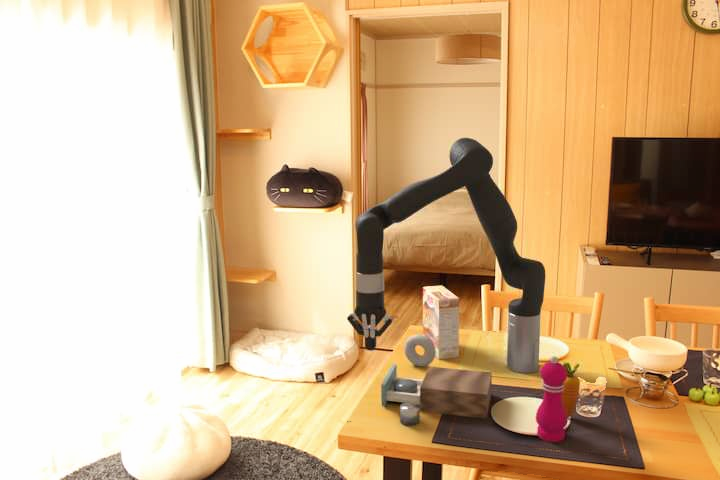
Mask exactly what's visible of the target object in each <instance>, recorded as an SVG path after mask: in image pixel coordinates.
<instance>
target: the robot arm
mask: <svg viewBox="0 0 720 480" xmlns="http://www.w3.org/2000/svg"><path fill="white" fill-rule="evenodd" d="M449 162H450V164H451V166H450V167H448V168H447V169H446V170H444V171H443V172H441V173H439V174H437V175H434V176H432V177H429V178H426V179H423V180H419V181H416V182H414V183H411V184H409V185H407V186H405V187H404V188H402V189H400V190H398V192H395V193H394V194H393V195H392V196H390V197H388V198H387V199H386V200H385V201H383V202H381V203H379V204H376V205H374V206H372V207H370V208H369V209H367V210H365V211H364V212H362V213H361V214H359V216H358V217H357V218H356V220H355V224H354V226H355V230H356V231H355V232H356V242H357V243H356V246H357V252H356V257H355V258H356V260H355V261H356V264H355V265H356V274H355V301H356V302H355V309H354V312H353V313H350V314H349V315H348V316H347V317H346V319H347V321H348V323H349V324H350V325H351V327H353V329H354V330H355V331H356V333H357V335H361V336H363V337H364V347H365V349H366V350H367V351H371V352H373V351H374V350H375V348H376V347H377V337H381V336H382V335H383V333H385V331H386V330H387V329H388V328H389V326H391V324H392V323H393V322H394V319H395V318H394V316H390V315H388V314H387V310H386V308H385V277H384V276H385V275H384V258H383V257H384V256H383V249H384V236H385V235H384V234H385V233H384V230H386V229H387V228H389V227H390V226H393V225H394V224H399V223H401V222H403V221H405V220H407V219H408V218H410V217H411V216H413V215H414V214H416V213H417V212H419V211H421V210H422V209H423V208H425V207H427V206H428V205H431V204H432V203H434V202H436V201H438V200H439V199H441V198H443V197H445V196H447V195H450V194H451V193H453V192H456V191H458V190H460V189H462V188H466V192H467V193H468V196H469V199H470V201H471V204H472V207H473V210H474V212H475V214H476V216H477V219H478V221H479V223H480V225H481V227H482V229H483V232H484V233H485V235H486V237H487V239H488V241H489V243H490V245H491V248H492V250H493V253H494V254H495V256H496V261H497V263H498V267H499V269H500V273H501V275H502V277H503V280H504V282H505V283H506V284H507V286H509V287H511V288H514V289H517V290H521V291H522V295H521V298H520V297H519V298H514V299H512V300H511V301H509V303H508V307H507V311H508V312H507V340H506V341H507V343H506V344H507V346H506V347H507V348H506V367H507V369H509V370H511V371H513V372H517V373H522V374H523V373H525V374H528V373H529V374H530V373H535V372H536V373H538V372H539V367H540V365H539V363H540V337H541V312H542V306H543V303H544V297H545V284H546V268H545V265H544V263H542V262H541V261H540V260H539V261H538V260H535V259H530V258H527V257H522V256H521V255H520V254H519V252H518V250H517V248H516V246H515V243H514V241H515V239H516V235H517V233H518V221H517V219H516V217H515V214H514V212H513V209H512V207H511V204H510V203H509V201H508V199H506V197H505V195H504V193H503V192H502V191H501V189H500V188H499V187H498V185H497V184H496V182H495V181H494V180H493V178H492V177H491V174H490V171H491V170H492V168H493V165H494V158H493V155H492V153H491V152H490V151H489V150H488V148H486V147H485V146H484V145H482V144H481V143H480V141H478V140H476V139H473V138H469V137H460V138H459V139H457V140H456V141H454V143H453V144H452V145H451V146H450V150H449ZM382 320H383V324H382V326H381V327H380V328H379V324H380V322H381V321H382ZM360 322H361V323H360ZM378 328H379V329H378Z"/></svg>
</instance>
